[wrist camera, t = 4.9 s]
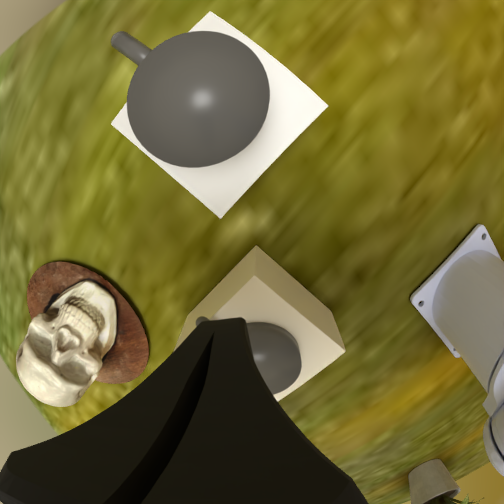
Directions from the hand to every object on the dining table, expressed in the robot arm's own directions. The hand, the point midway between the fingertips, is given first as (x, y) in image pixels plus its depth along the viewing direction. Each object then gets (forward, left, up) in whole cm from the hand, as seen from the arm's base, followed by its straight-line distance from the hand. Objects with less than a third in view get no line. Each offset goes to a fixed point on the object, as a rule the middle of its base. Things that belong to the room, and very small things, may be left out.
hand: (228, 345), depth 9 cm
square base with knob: (+6, -5, -10) cm, 13 cm away
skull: (+5, +14, -11) cm, 19 cm away
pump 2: (-3, +3, -9) cm, 10 cm away
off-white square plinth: (-4, +3, -11) cm, 12 cm away
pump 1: (+7, -5, -6) cm, 10 cm away
